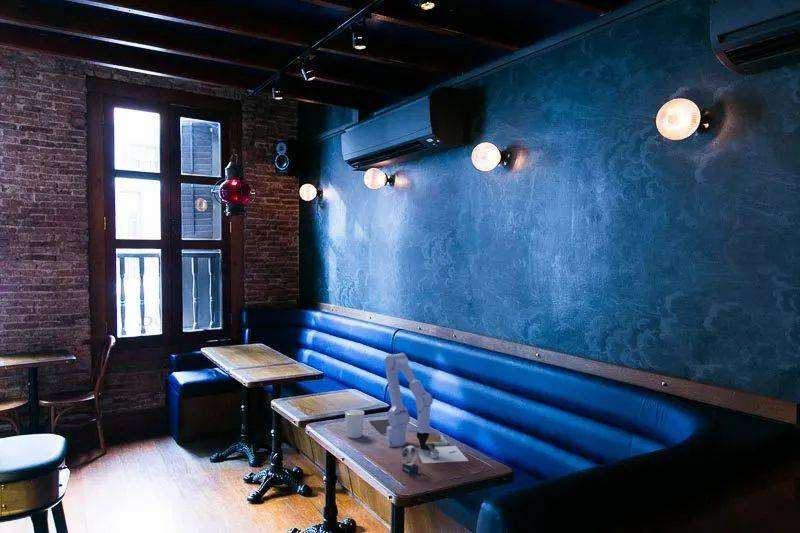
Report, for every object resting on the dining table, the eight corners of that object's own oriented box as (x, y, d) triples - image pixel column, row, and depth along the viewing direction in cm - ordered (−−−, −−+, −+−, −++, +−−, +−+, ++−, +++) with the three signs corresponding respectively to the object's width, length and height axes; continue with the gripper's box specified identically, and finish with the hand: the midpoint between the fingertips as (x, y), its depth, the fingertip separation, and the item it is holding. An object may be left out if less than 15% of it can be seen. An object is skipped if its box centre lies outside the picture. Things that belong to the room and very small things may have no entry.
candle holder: (348, 439, 271) (349, 416, 271) (341, 433, 280) (342, 410, 280) (366, 437, 276) (367, 413, 276) (359, 431, 285) (359, 408, 284)
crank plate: (423, 465, 241) (423, 463, 241) (413, 449, 260) (413, 447, 260) (468, 462, 245) (468, 460, 245) (455, 447, 264) (455, 445, 264)
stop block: (435, 444, 266) (435, 432, 266) (427, 443, 268) (428, 431, 268) (438, 442, 270) (439, 430, 270) (431, 440, 272) (431, 428, 271)
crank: (442, 458, 246) (442, 452, 246) (429, 459, 245) (429, 452, 245) (433, 447, 260) (433, 441, 260) (421, 447, 259) (421, 441, 259)
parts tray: (424, 448, 262) (424, 443, 262) (418, 440, 273) (418, 435, 273) (447, 447, 264) (447, 442, 264) (440, 439, 276) (441, 434, 276)
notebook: (369, 423, 299) (382, 436, 280) (369, 420, 299) (382, 433, 280) (391, 421, 304) (405, 433, 284) (391, 418, 304) (405, 430, 284)
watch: (398, 471, 234) (399, 446, 233) (413, 467, 238) (414, 442, 238) (406, 476, 229) (406, 450, 229) (421, 472, 234) (421, 446, 234)
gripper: (406, 420, 253) (405, 449, 254) (436, 424, 249) (435, 453, 249) (410, 416, 260) (409, 444, 260) (440, 419, 255) (439, 448, 256)
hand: (422, 448), depth 255 cm, fingers closed
